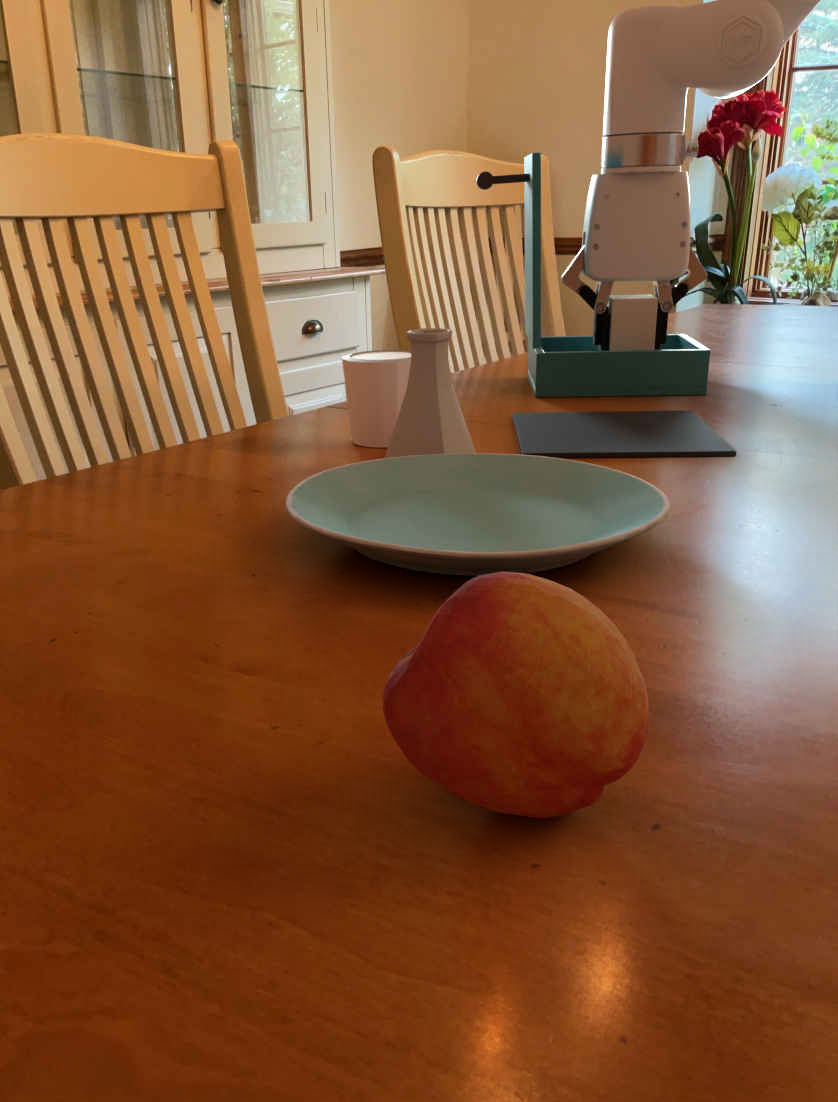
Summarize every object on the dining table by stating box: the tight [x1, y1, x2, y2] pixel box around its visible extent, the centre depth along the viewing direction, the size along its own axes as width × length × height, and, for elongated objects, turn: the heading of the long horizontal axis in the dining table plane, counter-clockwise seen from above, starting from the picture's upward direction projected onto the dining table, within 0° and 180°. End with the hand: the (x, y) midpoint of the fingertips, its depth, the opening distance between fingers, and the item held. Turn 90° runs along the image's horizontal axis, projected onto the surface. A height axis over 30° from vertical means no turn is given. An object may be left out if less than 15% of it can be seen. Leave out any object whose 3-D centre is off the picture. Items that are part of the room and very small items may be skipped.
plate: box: [284, 452, 671, 577], centre depth 62 cm, size 22×22×3 cm
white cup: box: [341, 349, 411, 449], centre depth 86 cm, size 7×7×7 cm
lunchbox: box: [526, 333, 711, 398], centre depth 108 cm, size 17×13×4 cm
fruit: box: [381, 572, 650, 819], centre depth 34 cm, size 8×8×8 cm
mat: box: [512, 409, 737, 459], centre depth 87 cm, size 16×16×1 cm
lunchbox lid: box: [475, 152, 542, 349], centre depth 104 cm, size 17×13×6 cm
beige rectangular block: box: [607, 293, 658, 351], centre depth 107 cm, size 4×4×8 cm
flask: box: [384, 327, 477, 458], centre depth 76 cm, size 7×7×10 cm
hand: (628, 350), depth 107 cm, fingers closed on beige rectangular block, 4 cm apart
